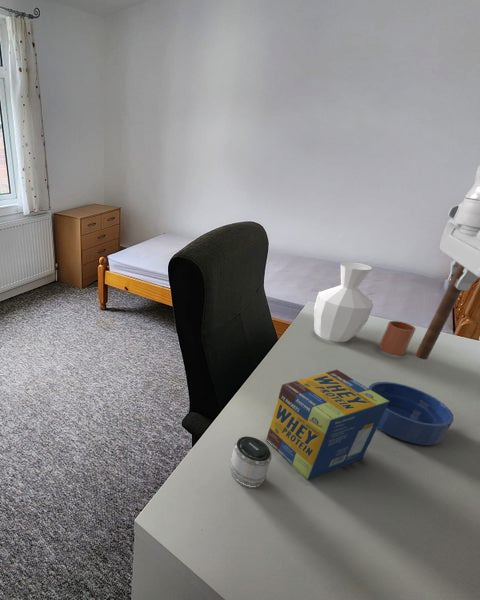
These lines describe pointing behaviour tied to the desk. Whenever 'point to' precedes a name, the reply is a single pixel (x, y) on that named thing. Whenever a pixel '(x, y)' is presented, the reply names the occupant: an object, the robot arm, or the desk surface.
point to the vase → (343, 305)
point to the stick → (440, 316)
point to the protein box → (324, 422)
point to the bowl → (412, 414)
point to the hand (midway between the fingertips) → (457, 285)
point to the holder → (397, 337)
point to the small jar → (250, 461)
